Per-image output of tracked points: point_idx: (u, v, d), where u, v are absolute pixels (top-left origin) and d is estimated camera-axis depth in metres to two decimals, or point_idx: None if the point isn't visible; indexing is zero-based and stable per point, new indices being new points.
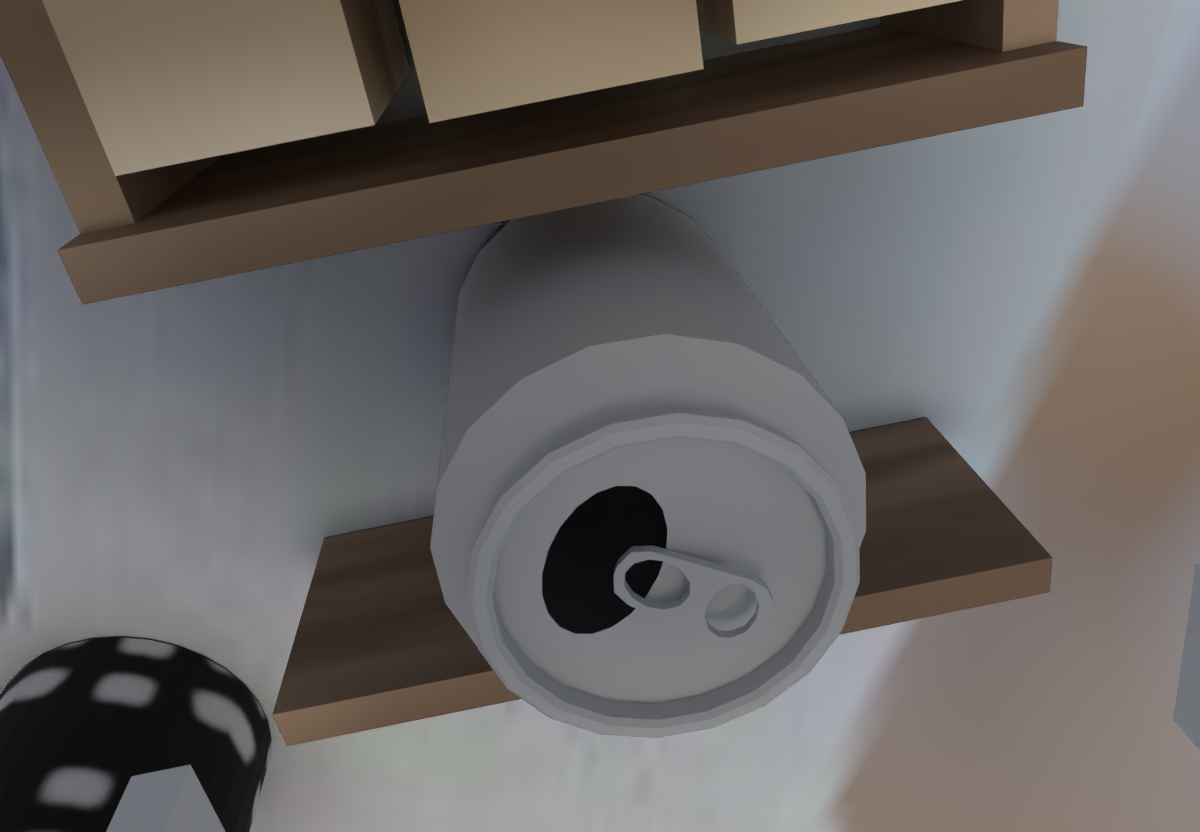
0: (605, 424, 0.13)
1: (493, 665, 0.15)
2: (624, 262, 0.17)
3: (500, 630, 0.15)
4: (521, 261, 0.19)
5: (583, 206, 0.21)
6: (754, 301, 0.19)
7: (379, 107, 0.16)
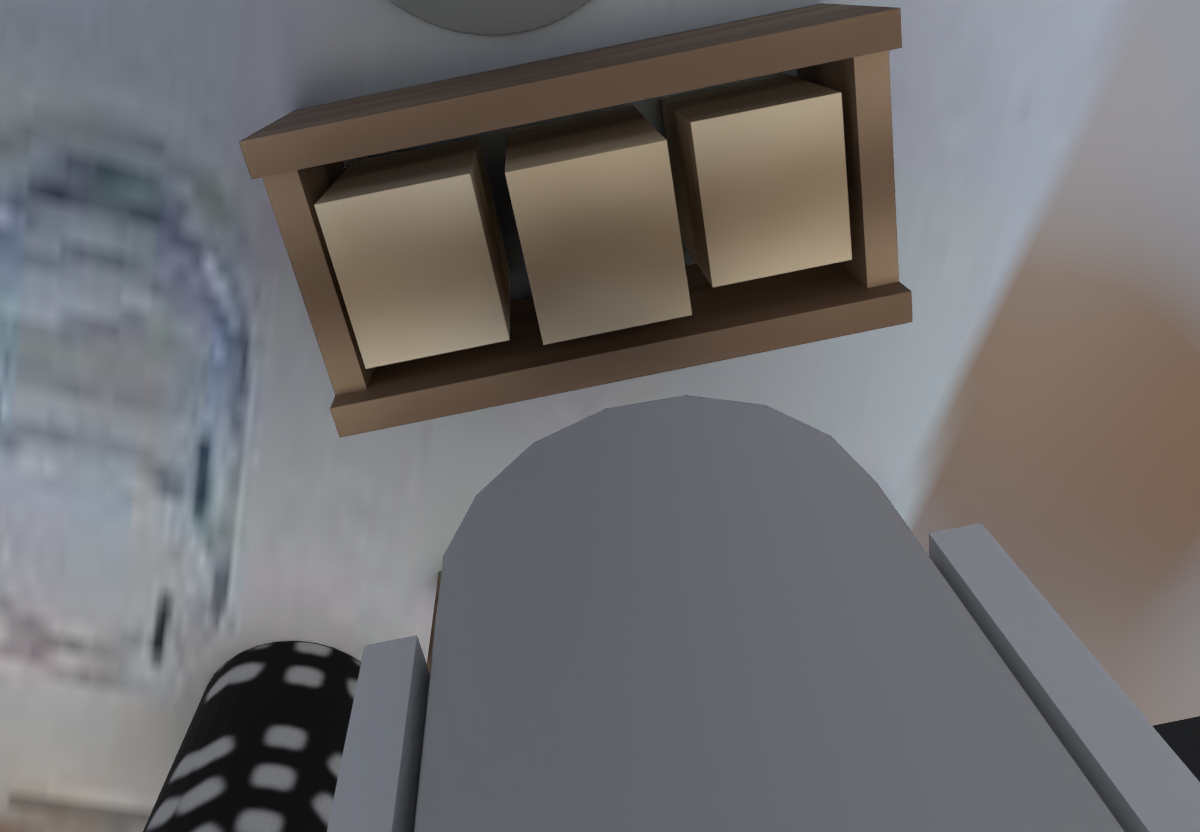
0: None
1: None
2: (784, 679, 0.08)
3: None
4: (554, 595, 0.10)
5: (661, 446, 0.12)
6: (1014, 688, 0.10)
7: (509, 325, 0.29)
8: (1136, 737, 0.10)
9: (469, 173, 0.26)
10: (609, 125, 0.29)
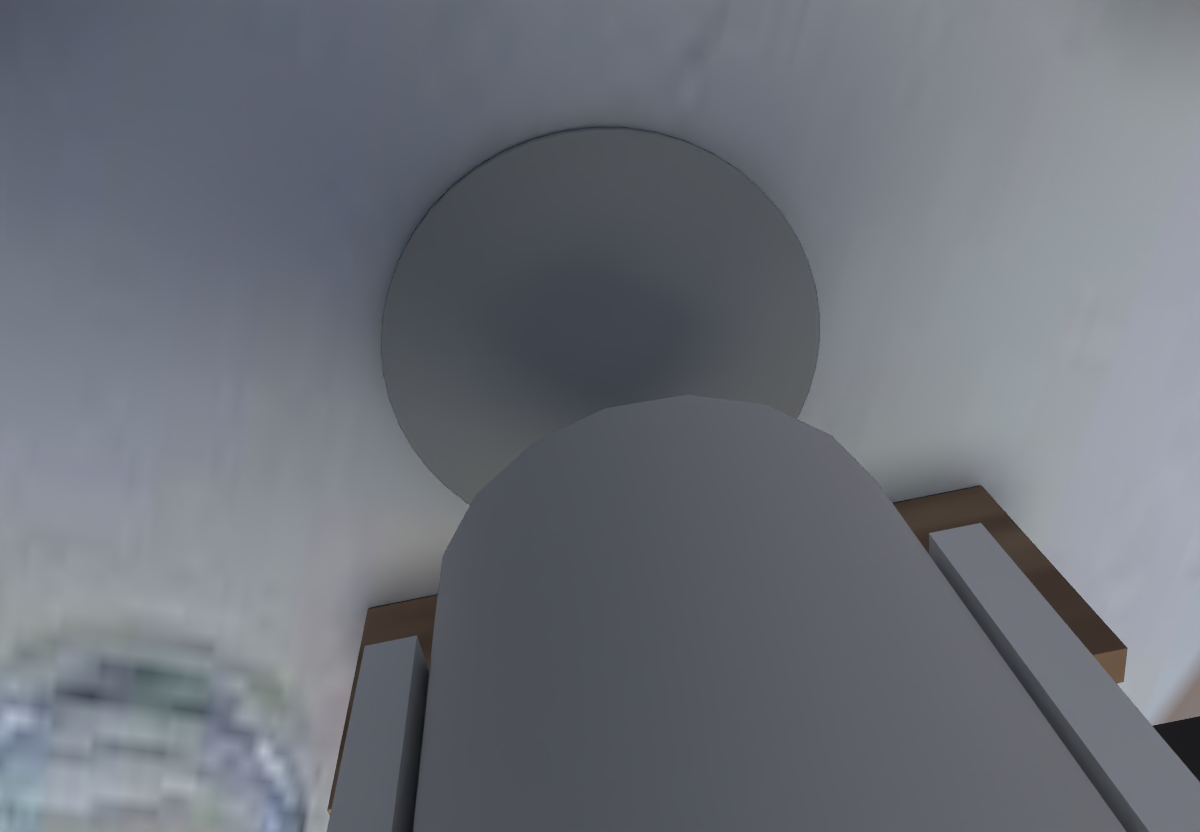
0: None
1: None
2: (784, 679, 0.08)
3: None
4: (554, 596, 0.10)
5: (661, 445, 0.12)
6: (1017, 689, 0.10)
7: None
8: (1136, 737, 0.10)
9: None
10: None
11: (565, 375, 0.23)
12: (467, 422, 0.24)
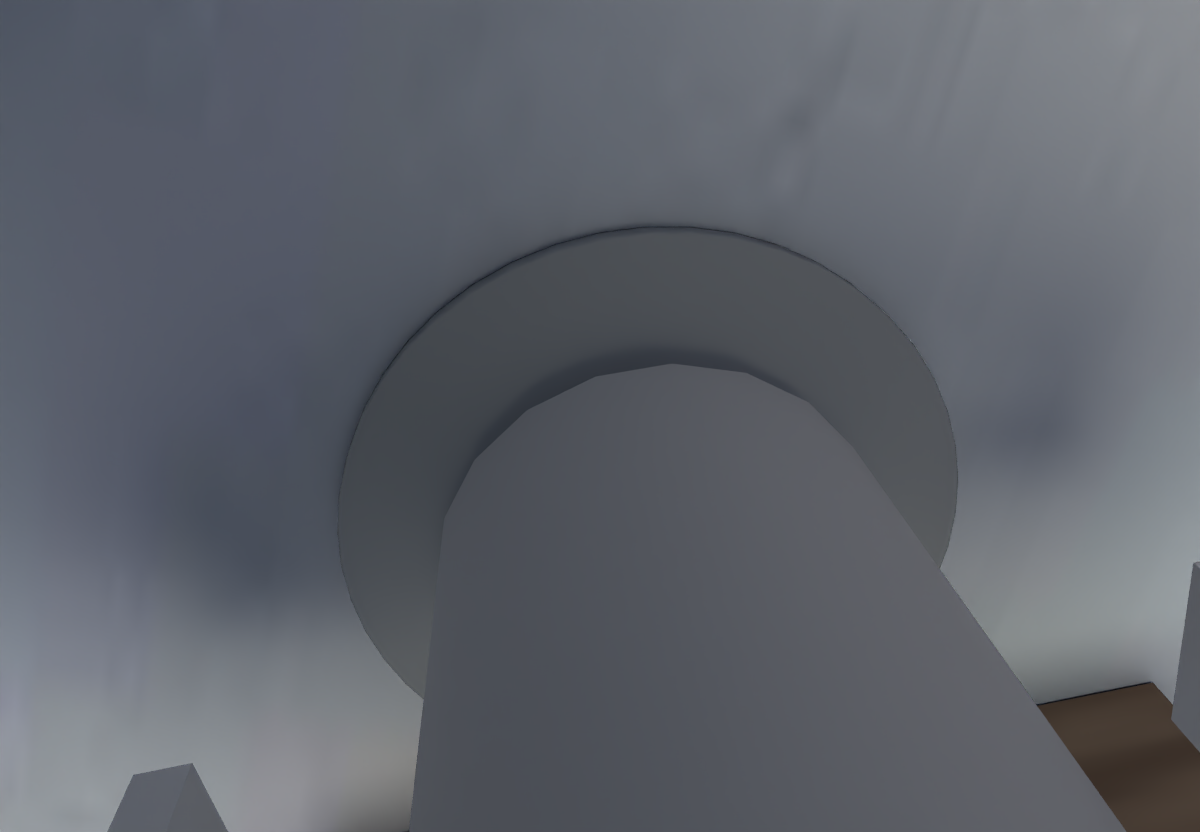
0: None
1: None
2: (750, 601, 0.09)
3: None
4: (545, 539, 0.11)
5: (646, 408, 0.13)
6: (969, 621, 0.10)
7: None
8: None
9: None
10: None
11: None
12: None
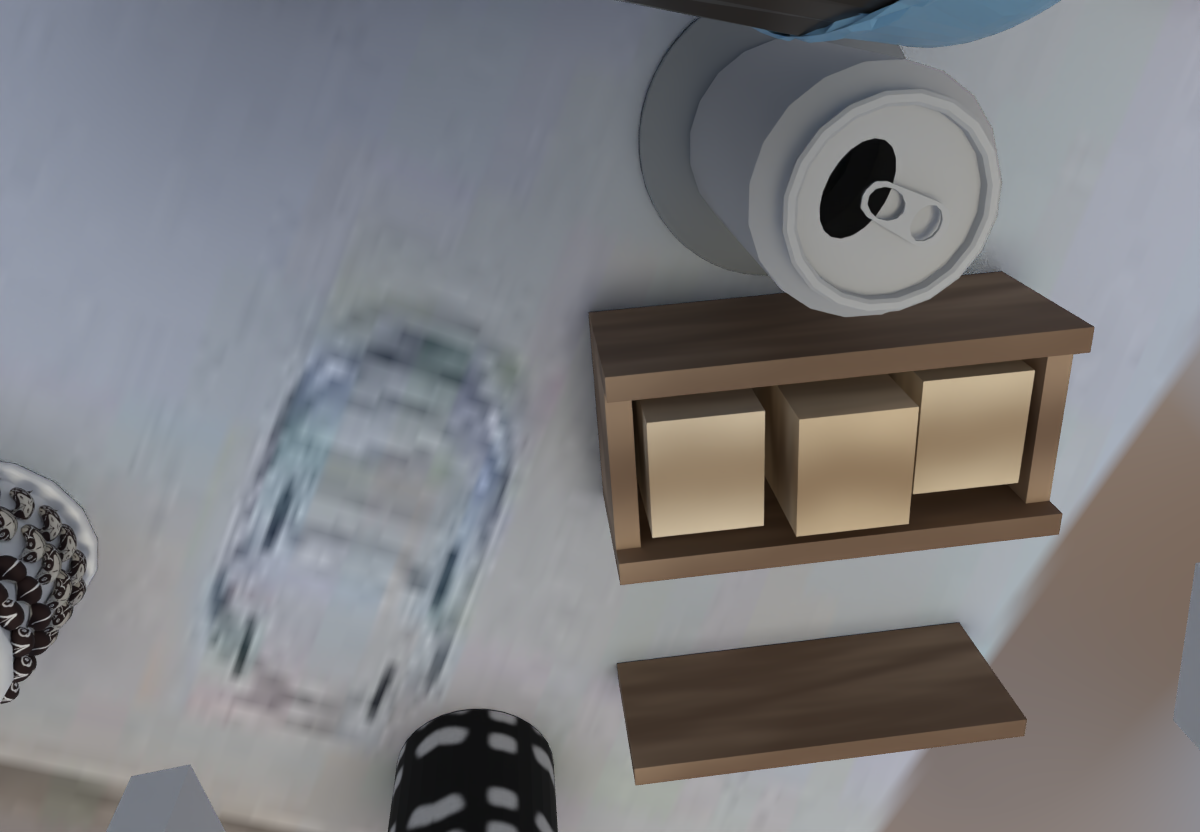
0: (882, 91, 0.24)
1: (789, 243, 0.26)
2: (854, 49, 0.29)
3: None
4: (774, 58, 0.31)
5: None
6: None
7: None
8: None
9: (764, 411, 0.34)
10: None
11: None
12: (685, 175, 0.37)
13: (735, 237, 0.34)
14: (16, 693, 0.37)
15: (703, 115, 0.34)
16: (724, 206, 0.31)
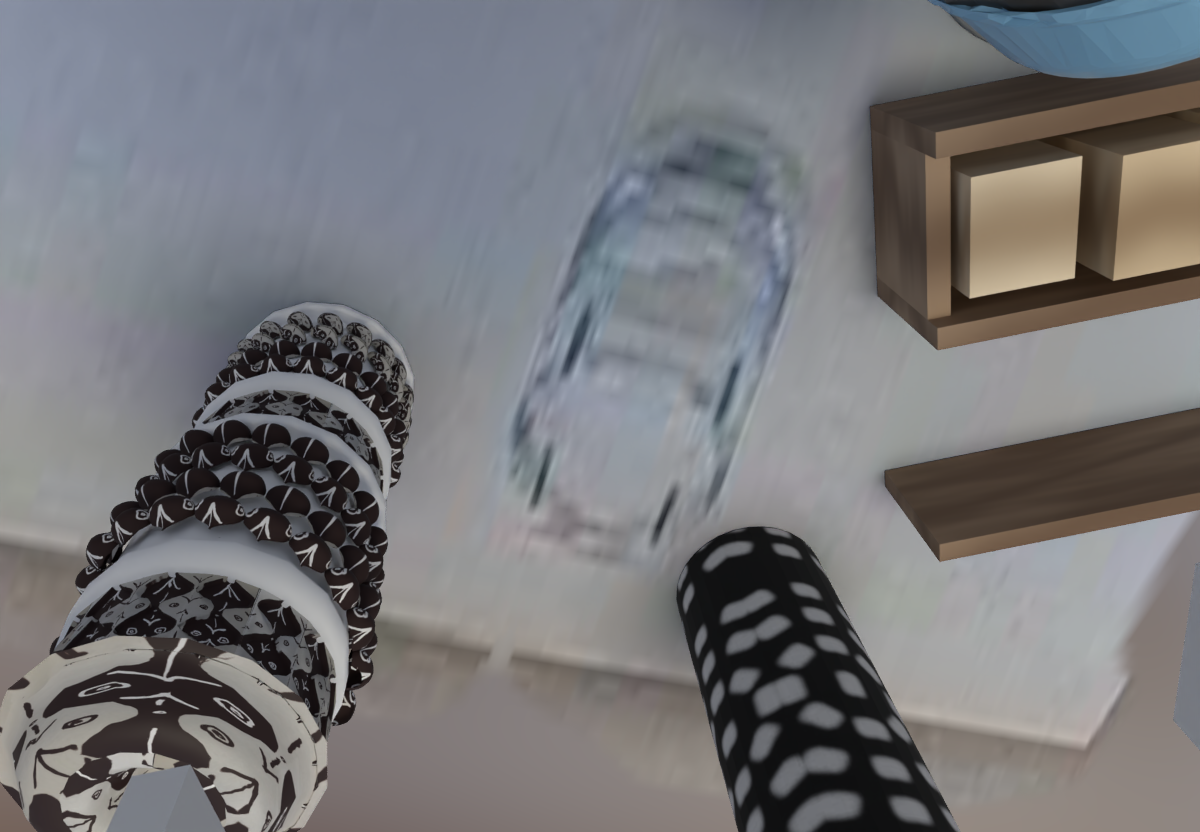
0: None
1: None
2: None
3: None
4: None
5: None
6: None
7: None
8: None
9: (1081, 156, 0.36)
10: (1135, 120, 0.39)
11: None
12: None
13: None
14: None
15: None
16: None
